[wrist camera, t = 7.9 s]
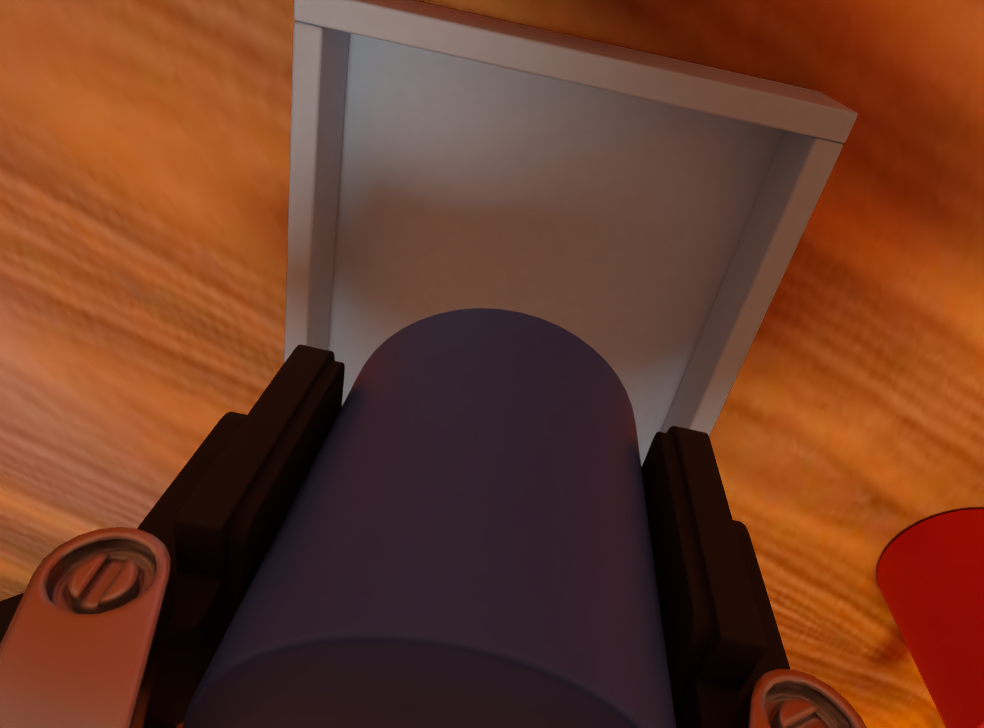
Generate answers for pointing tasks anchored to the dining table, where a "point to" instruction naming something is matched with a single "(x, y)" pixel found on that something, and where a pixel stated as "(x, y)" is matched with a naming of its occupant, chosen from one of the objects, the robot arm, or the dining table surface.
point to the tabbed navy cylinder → (458, 550)
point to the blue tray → (543, 193)
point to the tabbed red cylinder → (942, 609)
